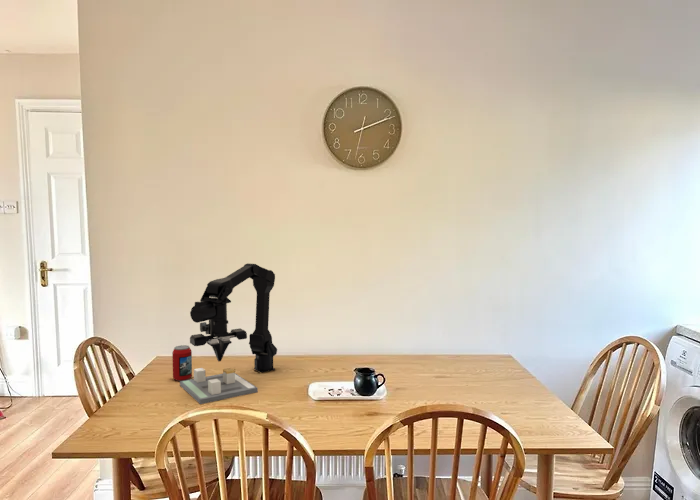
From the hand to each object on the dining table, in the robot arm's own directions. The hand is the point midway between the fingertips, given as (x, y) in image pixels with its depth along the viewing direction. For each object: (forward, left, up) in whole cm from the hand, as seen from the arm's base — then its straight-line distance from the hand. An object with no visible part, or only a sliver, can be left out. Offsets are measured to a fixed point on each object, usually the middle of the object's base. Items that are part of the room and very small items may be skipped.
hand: (219, 361), depth 175 cm
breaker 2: (+5, +8, -8) cm, 12 cm away
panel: (+1, 0, -10) cm, 10 cm away
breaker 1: (+5, -7, -8) cm, 12 cm away
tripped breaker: (-3, 0, -8) cm, 9 cm away
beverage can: (+8, -18, -10) cm, 22 cm away
